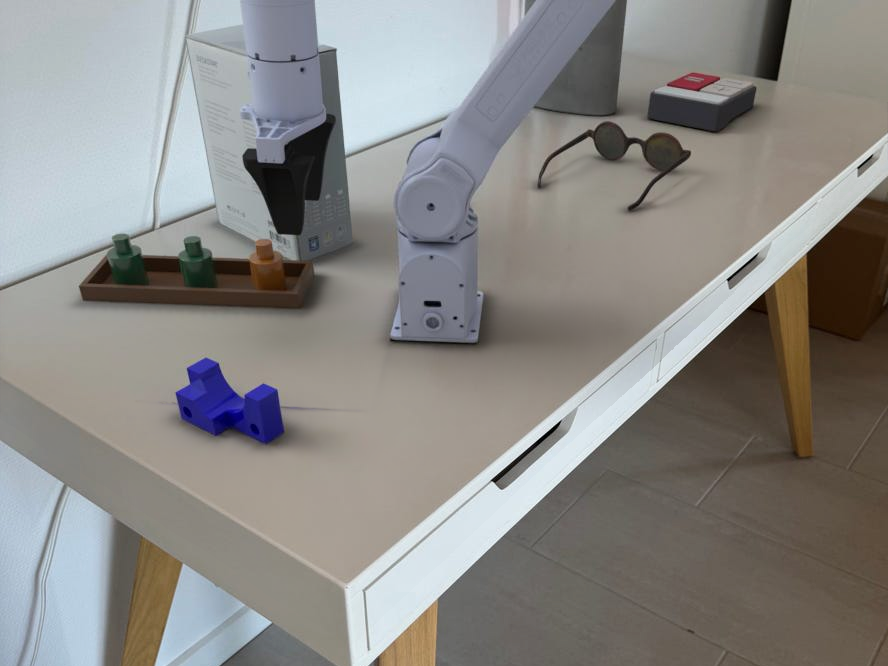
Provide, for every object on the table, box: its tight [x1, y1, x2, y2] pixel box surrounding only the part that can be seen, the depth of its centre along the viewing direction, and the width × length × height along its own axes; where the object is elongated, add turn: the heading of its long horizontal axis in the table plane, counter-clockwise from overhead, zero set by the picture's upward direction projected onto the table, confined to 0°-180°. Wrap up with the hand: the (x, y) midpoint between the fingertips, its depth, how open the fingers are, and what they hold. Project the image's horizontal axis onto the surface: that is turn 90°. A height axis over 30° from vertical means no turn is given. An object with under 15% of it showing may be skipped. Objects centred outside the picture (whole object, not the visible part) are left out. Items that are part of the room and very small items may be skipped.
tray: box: [78, 254, 315, 310], centre depth 90 cm, size 7×21×2 cm, turn 86°
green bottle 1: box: [106, 233, 149, 286], centre depth 89 cm, size 3×3×5 cm
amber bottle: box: [248, 239, 287, 291], centre depth 88 cm, size 3×3×5 cm
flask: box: [524, 0, 628, 117], centre depth 131 cm, size 15×6×20 cm, turn 65°
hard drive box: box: [185, 24, 354, 261], centre depth 94 cm, size 16×8×20 cm, turn 46°
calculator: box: [646, 72, 757, 132], centre depth 135 cm, size 11×4×15 cm
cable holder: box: [174, 357, 285, 445], centre depth 71 cm, size 8×4×4 cm, turn 55°
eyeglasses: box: [537, 120, 692, 212], centre depth 112 cm, size 15×15×5 cm
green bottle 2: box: [177, 235, 218, 288], centre depth 88 cm, size 3×3×5 cm
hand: (299, 215), depth 82 cm, fingers open, 7 cm apart
